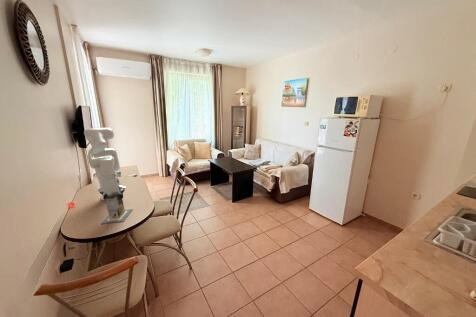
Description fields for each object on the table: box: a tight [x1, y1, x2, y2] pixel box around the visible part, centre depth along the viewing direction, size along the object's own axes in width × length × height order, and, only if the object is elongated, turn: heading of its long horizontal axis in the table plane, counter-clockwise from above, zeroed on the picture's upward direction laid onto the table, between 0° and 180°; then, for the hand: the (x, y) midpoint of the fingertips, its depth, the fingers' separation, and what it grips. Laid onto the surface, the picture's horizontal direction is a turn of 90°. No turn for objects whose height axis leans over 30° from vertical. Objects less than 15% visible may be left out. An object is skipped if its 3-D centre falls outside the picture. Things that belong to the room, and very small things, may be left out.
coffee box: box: [104, 192, 126, 219], centre depth 132 cm, size 9×6×16 cm
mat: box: [100, 208, 134, 225], centre depth 134 cm, size 16×14×1 cm
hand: (114, 199), depth 131 cm, fingers open, 9 cm apart
